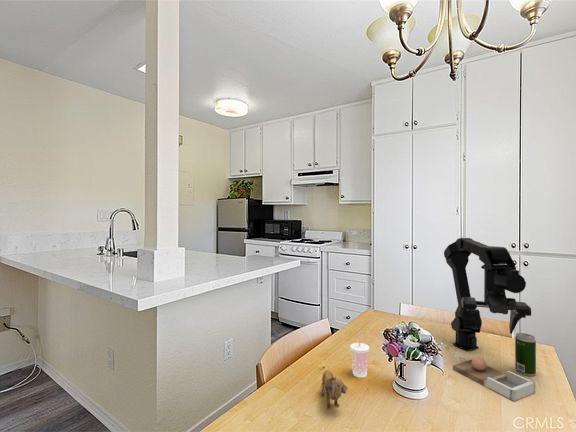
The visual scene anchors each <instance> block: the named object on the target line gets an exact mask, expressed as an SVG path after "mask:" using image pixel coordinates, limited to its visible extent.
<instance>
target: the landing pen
mask: <svg viewBox="0 0 576 432" xmlns="http://www.w3.org/2000/svg"><path fill="white" fill-rule="evenodd" d="M506 374H507V380H505V381H502V382H498V381H496V380H494V379H492V378H490V377H487V387H486V388H487V389H489V390H491V391H493V392H494V393H496V394H498V395H501V396H503V397H505V398H506V399H508V400H511V401H512V402H515V401H518V400H521V399H523V398H526V397H528V396H530V395H534V394H536V382H535V381H532V380H531V379H528V378H526V377H524V376H522V375H519V374H517V373H514V372H512V371H510V370H507V371H506Z"/></svg>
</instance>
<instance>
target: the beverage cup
mask: <svg viewBox="0 0 576 432" xmlns="http://www.w3.org/2000/svg"><path fill="white" fill-rule="evenodd" d="M350 351H351V352H350V353H351V364H352V374H354V375H353V376H354V377H357V378H360V379H361V378H366V377H367V376H368V366H369V365H368V362H369V351H370V346H369V345H368V344H366V343H363V342H361V331H358V342H354V343H351V344H350Z"/></svg>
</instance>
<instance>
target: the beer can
mask: <svg viewBox="0 0 576 432" xmlns="http://www.w3.org/2000/svg"><path fill="white" fill-rule="evenodd" d="M514 342H515V343H514V346H515V347H514V348H515V349H514V350H515V351H514V356H515V357H514V359H515V360H514V362H515V363H514V364H515V365H514V366H515V370H516V373H519V374H521V375H523V376H525V377H526V376H527V377H534V376H536V374H537V341H536V337H535V336H534V335H532V334H529V333H523V332H516V333H515V336H514Z"/></svg>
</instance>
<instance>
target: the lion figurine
mask: <svg viewBox="0 0 576 432" xmlns="http://www.w3.org/2000/svg"><path fill="white" fill-rule="evenodd" d="M321 379H322V381H321V382H322V383H321V385H322V388H321V392H320V396H321V397H324V396H325V400H326V407H325V408H326V410H331V401H333V405H334V407H336V408H339V407H340V404H339V402H338V401H339V399H340V398H341V397H342V394H344V395H345V394H346V393H347V391H348V389H349V387H348V386H347V385H346V384H345V383H344V382H343V381H342V378H341V377H338V376H335V377H334V374H333V372H332V370H329V369H327V370H324V371H323V374H322V378H321Z"/></svg>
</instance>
